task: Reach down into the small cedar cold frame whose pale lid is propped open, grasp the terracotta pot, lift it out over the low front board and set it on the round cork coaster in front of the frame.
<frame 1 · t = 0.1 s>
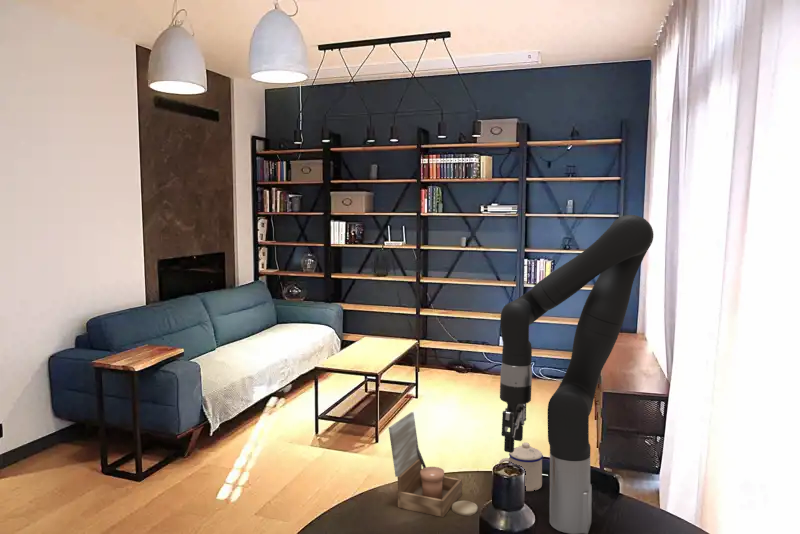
hand: (513, 445, 143), 17 cm above the table, tool pointing down, fingers open, 8 cm apart
cold frame: (430, 500, 152), on the table
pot: (432, 498, 152), point 1 cm above the table, touching cold frame
teacup with lid: (520, 485, 161), on the table
coaster: (464, 509, 147), on the table
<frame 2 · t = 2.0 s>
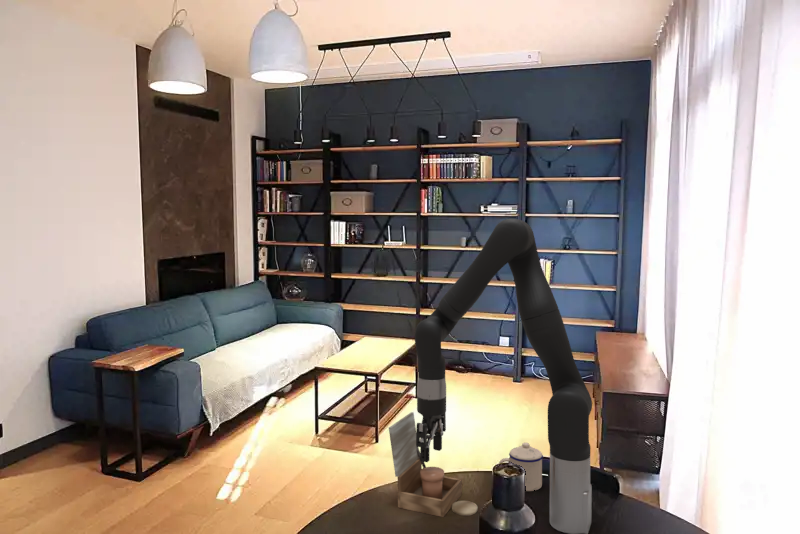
hand: (431, 455, 151), 12 cm above the table, tool pointing down, fingers open, 8 cm apart
nothing on the table moved.
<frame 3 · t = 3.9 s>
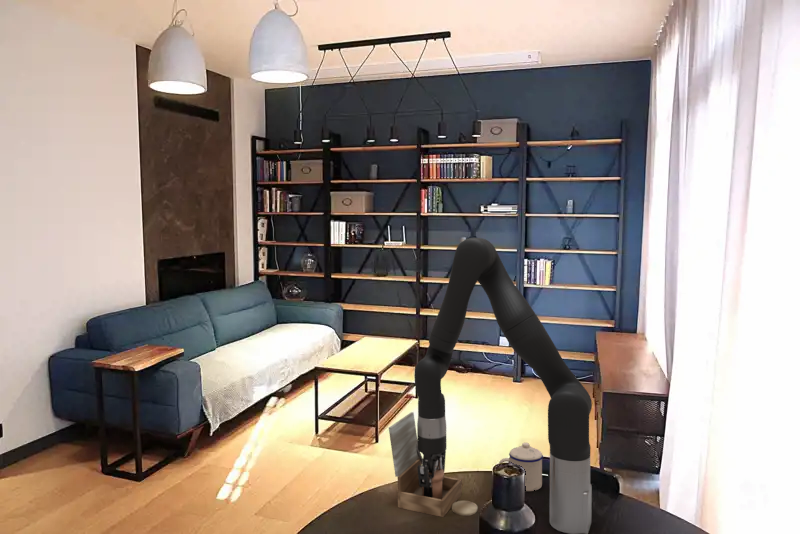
hand: (432, 495, 152), 1 cm above the table, tool pointing down, fingers closed on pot, 5 cm apart
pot: (432, 498, 152), point 1 cm above the table, touching cold frame, gripper
everything else where it was.
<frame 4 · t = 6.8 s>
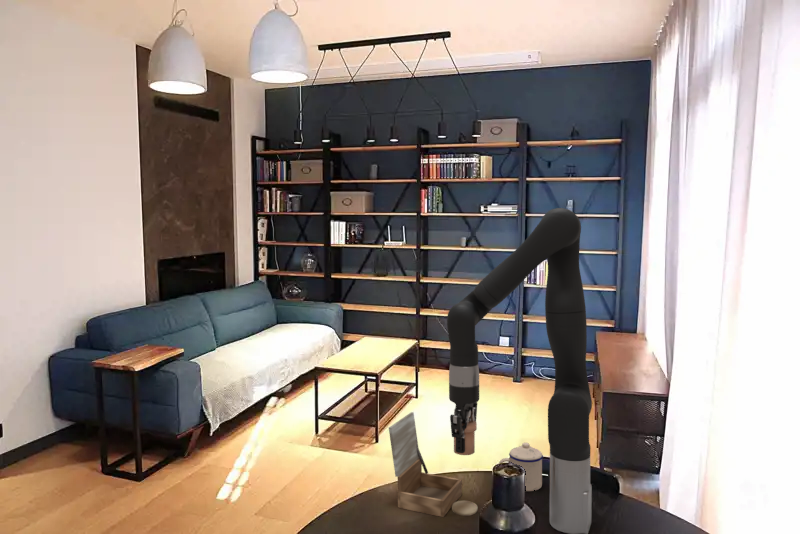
hand: (464, 448, 146), 16 cm above the table, tool pointing down, fingers closed on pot, 5 cm apart
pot: (464, 451, 146), point 15 cm above the table, touching gripper
everything else where it was.
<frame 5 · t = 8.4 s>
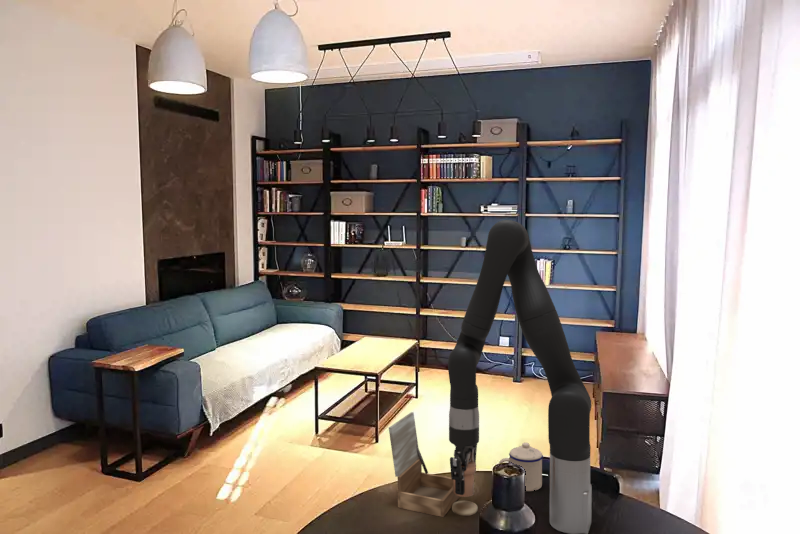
hand: (463, 488, 147), 5 cm above the table, tool pointing down, fingers closed on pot, 5 cm apart
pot: (463, 492, 147), point 4 cm above the table, touching gripper
everything else where it was.
when the fingers open (3 cm above the table, at t = 9.9 s): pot drops 1 cm, resting on coaster.
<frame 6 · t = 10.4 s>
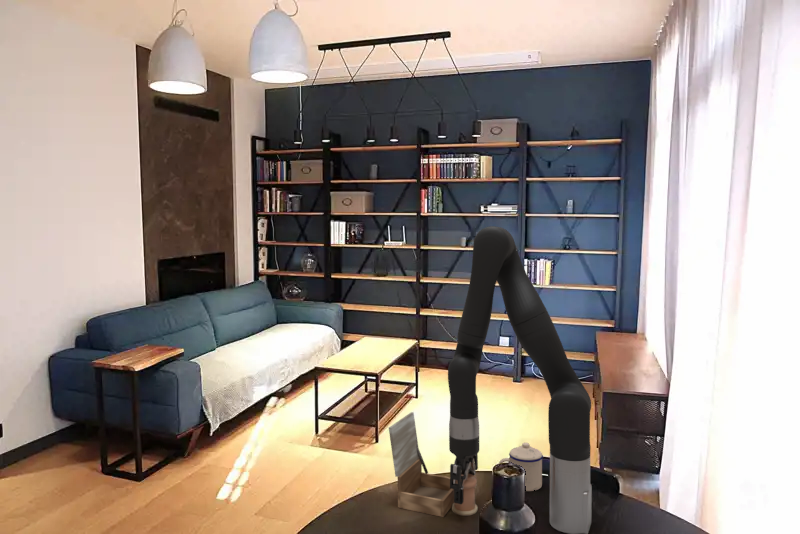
hand: (464, 496, 147), 3 cm above the table, tool pointing down, fingers open, 8 cm apart
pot: (464, 506, 147), point 1 cm above the table, touching coaster
everything else where it was.
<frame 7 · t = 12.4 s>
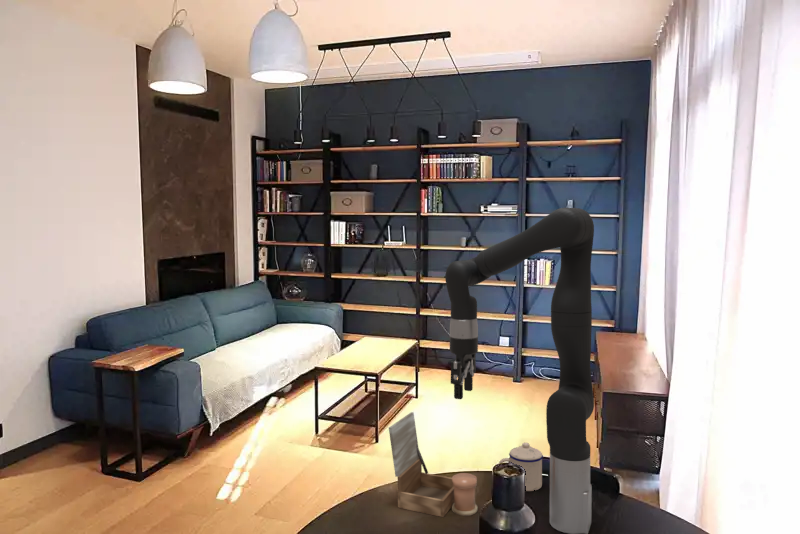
hand: (463, 394, 157), 26 cm above the table, tool pointing down, fingers open, 8 cm apart
nothing on the table moved.
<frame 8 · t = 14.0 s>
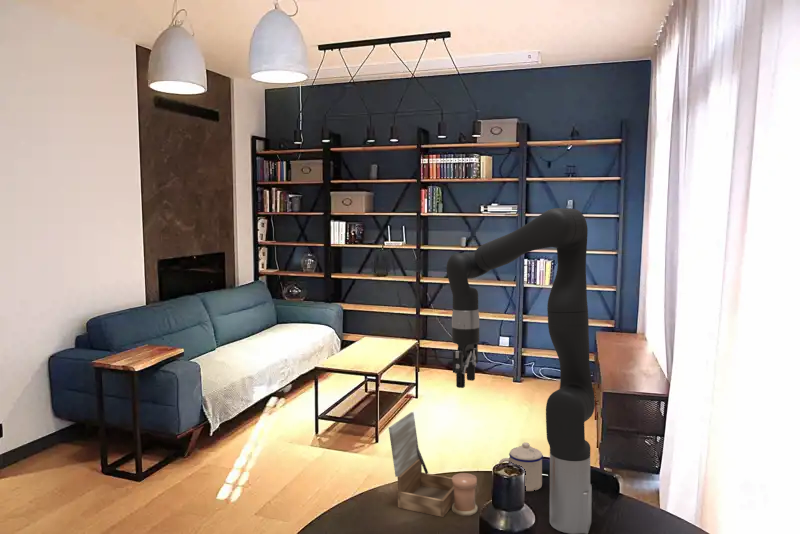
hand: (465, 383, 161), 28 cm above the table, tool pointing down, fingers open, 8 cm apart
nothing on the table moved.
at the end: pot 0.0 cm from the coaster (horizontally); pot point 0.8 cm above the table; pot tilted 0° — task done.
